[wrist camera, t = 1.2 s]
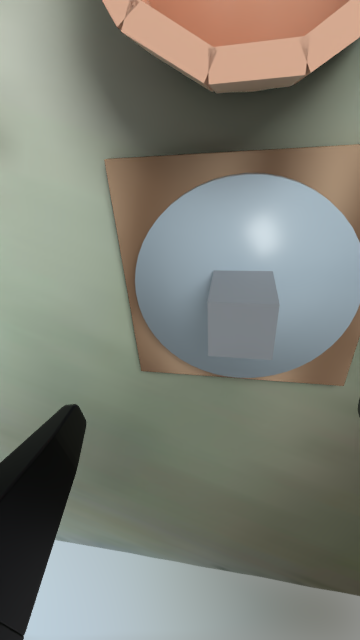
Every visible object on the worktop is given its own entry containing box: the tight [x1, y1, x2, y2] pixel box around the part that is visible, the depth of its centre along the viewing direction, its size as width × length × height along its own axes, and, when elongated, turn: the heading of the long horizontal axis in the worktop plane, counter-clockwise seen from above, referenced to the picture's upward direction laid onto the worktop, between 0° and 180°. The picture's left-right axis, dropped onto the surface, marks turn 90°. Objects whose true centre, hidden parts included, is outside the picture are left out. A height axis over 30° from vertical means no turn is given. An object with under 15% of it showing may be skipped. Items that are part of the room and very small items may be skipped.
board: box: [105, 144, 360, 386], centre depth 20 cm, size 16×16×1 cm
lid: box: [135, 173, 360, 378], centre depth 18 cm, size 14×14×5 cm
